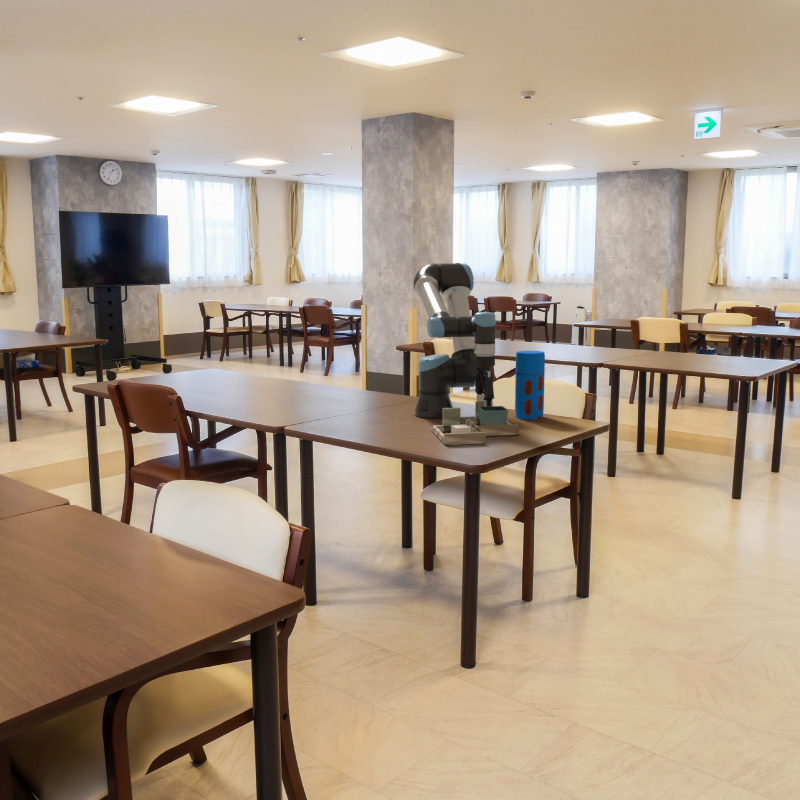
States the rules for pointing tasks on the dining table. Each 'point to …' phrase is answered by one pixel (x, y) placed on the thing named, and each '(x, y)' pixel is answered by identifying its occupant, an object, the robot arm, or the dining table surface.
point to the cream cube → (460, 429)
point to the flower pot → (493, 415)
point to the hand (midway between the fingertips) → (484, 414)
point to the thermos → (529, 384)
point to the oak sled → (491, 429)
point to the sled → (453, 418)
